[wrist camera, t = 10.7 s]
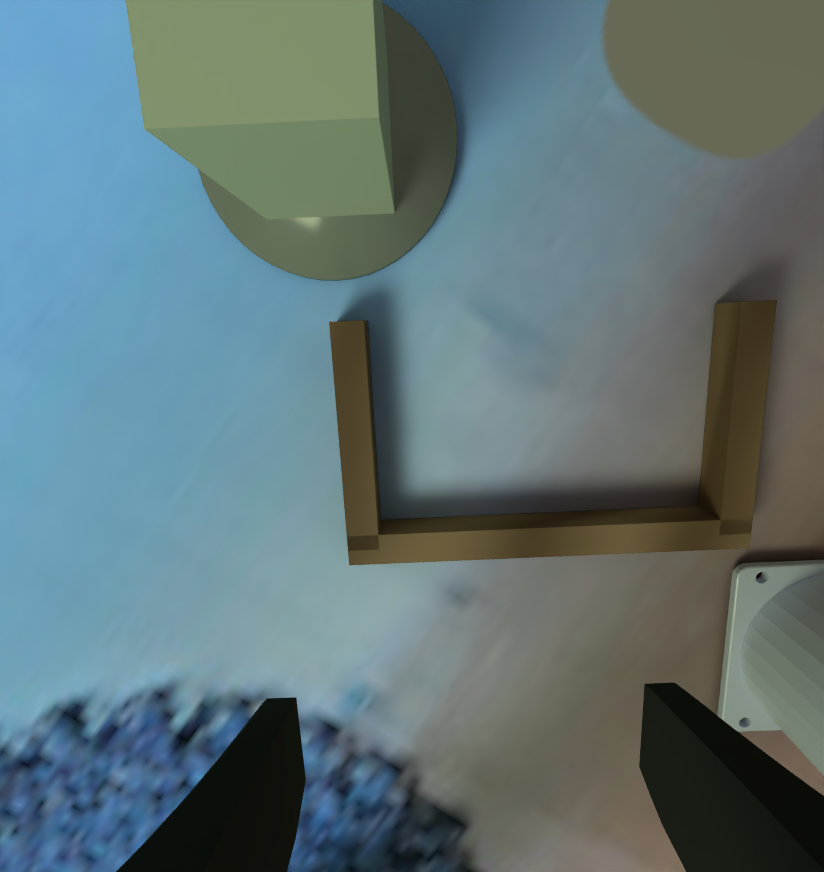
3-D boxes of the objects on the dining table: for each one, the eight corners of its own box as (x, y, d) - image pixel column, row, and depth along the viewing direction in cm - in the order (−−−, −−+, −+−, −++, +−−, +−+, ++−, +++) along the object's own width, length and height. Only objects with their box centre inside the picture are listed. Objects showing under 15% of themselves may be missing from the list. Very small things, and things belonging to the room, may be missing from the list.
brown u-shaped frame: (747, 302, 18) (776, 299, 17) (725, 532, 20) (749, 548, 19) (335, 322, 18) (329, 321, 17) (353, 548, 20) (349, 565, 19)
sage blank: (387, 49, 16) (361, -214, 8) (394, 213, 17) (378, 117, 9) (250, 56, 16) (97, -199, 8) (266, 219, 17) (144, 128, 9)
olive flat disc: (452, -12, 16) (453, -23, 16) (459, 274, 18) (461, 273, 18) (180, 4, 16) (173, -7, 16) (217, 286, 18) (212, 285, 18)
